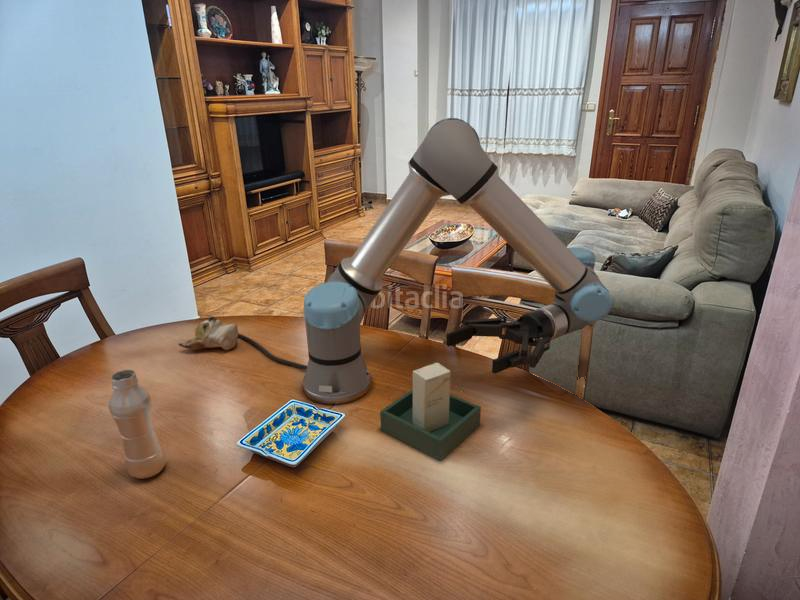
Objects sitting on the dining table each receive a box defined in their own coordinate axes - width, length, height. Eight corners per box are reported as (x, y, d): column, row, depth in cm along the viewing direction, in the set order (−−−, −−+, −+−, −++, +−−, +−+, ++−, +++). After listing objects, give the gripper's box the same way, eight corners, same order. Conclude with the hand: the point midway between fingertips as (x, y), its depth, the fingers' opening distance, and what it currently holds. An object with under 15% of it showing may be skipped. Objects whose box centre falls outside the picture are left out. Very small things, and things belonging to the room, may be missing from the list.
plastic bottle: (153, 486, 89) (128, 387, 81) (119, 481, 90) (91, 383, 82) (176, 461, 94) (153, 367, 87) (143, 456, 96) (119, 363, 88)
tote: (380, 430, 102) (380, 411, 100) (422, 399, 112) (422, 382, 110) (440, 461, 93) (440, 441, 92) (479, 425, 103) (480, 406, 101)
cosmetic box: (424, 435, 99) (424, 381, 94) (411, 423, 102) (411, 370, 97) (450, 423, 102) (451, 370, 97) (436, 412, 105) (437, 361, 101)
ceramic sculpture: (223, 327, 127) (171, 325, 130) (230, 358, 130) (179, 355, 133) (245, 310, 136) (195, 309, 140) (251, 339, 139) (202, 337, 143)
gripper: (586, 363, 105) (514, 397, 94) (499, 321, 124) (430, 345, 113) (591, 330, 102) (517, 361, 91) (501, 293, 121) (431, 314, 110)
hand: (469, 353), depth 102 cm, fingers open, 13 cm apart
